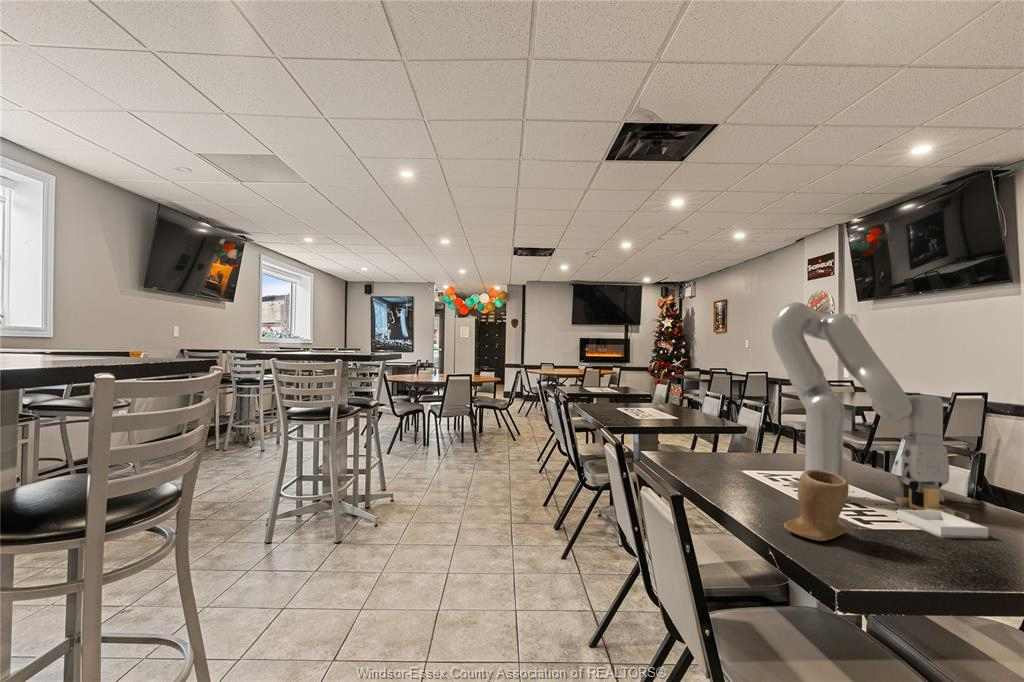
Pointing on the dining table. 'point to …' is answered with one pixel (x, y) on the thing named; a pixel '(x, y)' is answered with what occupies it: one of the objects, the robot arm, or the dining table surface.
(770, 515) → the dining table surface
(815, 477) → the stone cup
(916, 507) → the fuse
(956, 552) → the dining table surface
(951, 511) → the clip holder
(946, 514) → the tray
